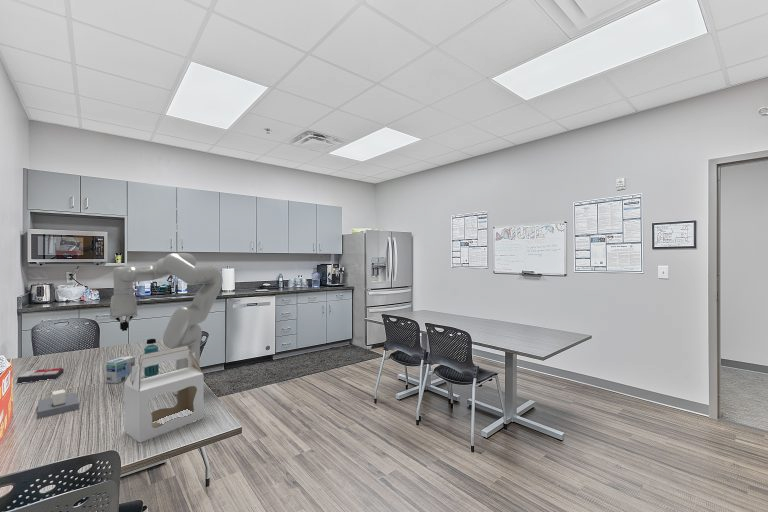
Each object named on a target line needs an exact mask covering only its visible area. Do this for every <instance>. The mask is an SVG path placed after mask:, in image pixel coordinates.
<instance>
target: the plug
mask: <svg viewBox="0 0 768 512" xmlns="http://www.w3.org/2000/svg"><path fill="white" fill-rule="evenodd" d="M65 395H66V390H65V389H60V390H53V391H52V398H53V406H58V405H62V404H64V403H65Z"/></svg>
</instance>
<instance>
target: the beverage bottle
mask: <svg viewBox="0 0 768 512" xmlns="http://www.w3.org/2000/svg"><path fill="white" fill-rule="evenodd" d="M156 343H157V339H156V338H149V339H148V338H147V340H146V346H145V348H144V349H143V350H144V352H143V354H147V353H152V352H157V351H159V346H158V345H156ZM143 369H144V377H150V376H154V375H158V374H160V373H159V372H160V366H159V364H156V365H152V366H148V367H144V368H143Z"/></svg>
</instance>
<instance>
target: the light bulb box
mask: <svg viewBox="0 0 768 512" xmlns="http://www.w3.org/2000/svg"><path fill="white" fill-rule="evenodd" d="M105 363H106V364H105V368H106V369H105V373H106V374H105V383H106V384H115V385H116V384H119V383H122V382H126V380H127V378H128V377H129V375H130V373H131V367H132V366H133V365H136V356H126V355H125V356H121V357H118V358H115V359H111V360H107V361H106V362H105Z"/></svg>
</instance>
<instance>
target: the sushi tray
mask: <svg viewBox="0 0 768 512" xmlns="http://www.w3.org/2000/svg"><path fill="white" fill-rule="evenodd" d="M64 371H65V370H64V368H63V367H55V368H45V369H37V370H36V369H33V370H26V372H24V373H22V374H20V375H19V376H18V377H17V380H16V384H17V383H22V382H29V383H31V382H30V381H39V380H47V379H55V380H57V379H59V378H60V377H61V376H62V375H63V374H64ZM62 373H63V374H62ZM61 374H62V375H61ZM60 375H61V376H60ZM59 376H60V377H59ZM58 377H59V378H58ZM56 378H57V379H56ZM47 381H48V380H47ZM39 382H40V381H39Z"/></svg>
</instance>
